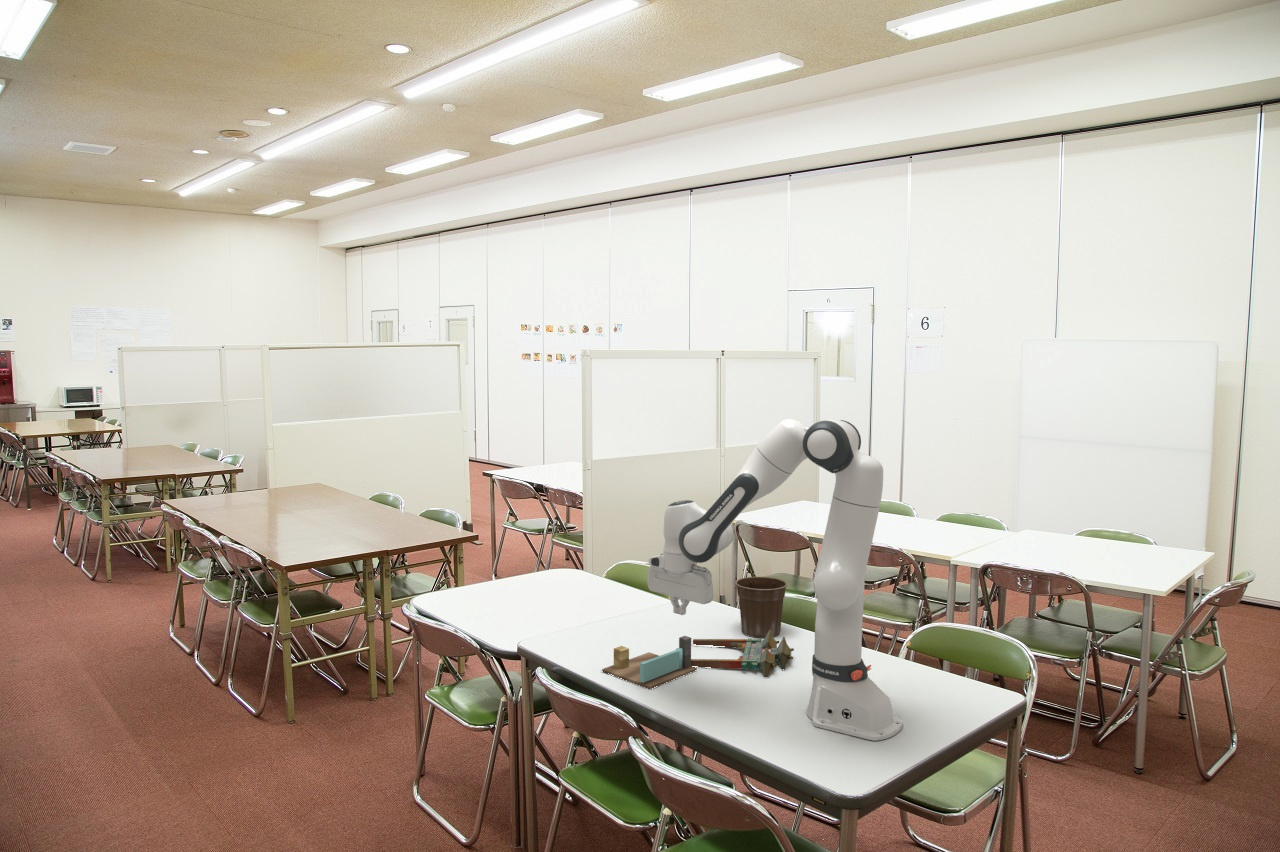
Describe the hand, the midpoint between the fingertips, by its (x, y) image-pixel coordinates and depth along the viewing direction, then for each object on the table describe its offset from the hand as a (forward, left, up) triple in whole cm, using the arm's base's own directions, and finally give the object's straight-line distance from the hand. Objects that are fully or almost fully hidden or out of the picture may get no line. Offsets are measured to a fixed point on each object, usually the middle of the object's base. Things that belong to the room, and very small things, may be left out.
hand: (679, 613), depth 219 cm
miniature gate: (0, -27, -20) cm, 34 cm away
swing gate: (+6, 0, -18) cm, 19 cm away
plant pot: (+10, -51, -19) cm, 55 cm away
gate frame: (+12, -1, -19) cm, 23 cm away
